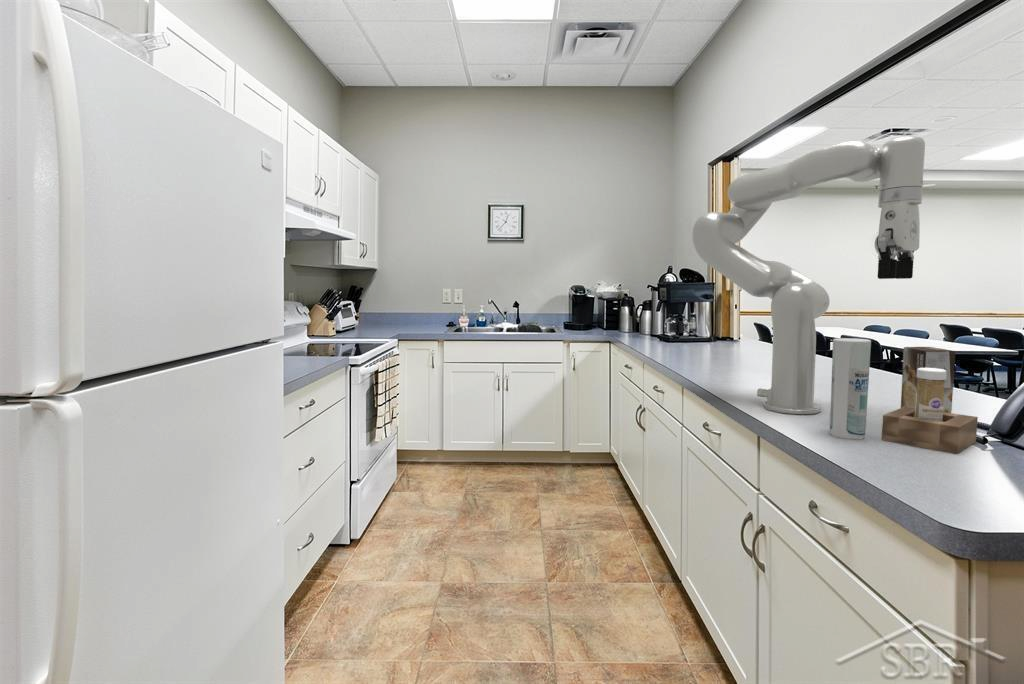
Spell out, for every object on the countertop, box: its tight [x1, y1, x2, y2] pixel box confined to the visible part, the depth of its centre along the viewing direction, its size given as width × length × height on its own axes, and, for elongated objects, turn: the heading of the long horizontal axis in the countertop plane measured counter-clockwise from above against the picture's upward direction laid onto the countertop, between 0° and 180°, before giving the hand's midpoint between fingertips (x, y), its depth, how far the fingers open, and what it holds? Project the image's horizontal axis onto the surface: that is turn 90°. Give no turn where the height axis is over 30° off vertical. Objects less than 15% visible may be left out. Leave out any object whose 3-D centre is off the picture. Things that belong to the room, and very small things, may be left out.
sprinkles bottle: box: [914, 368, 946, 421], centre depth 104 cm, size 5×5×14 cm
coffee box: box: [900, 346, 956, 413], centre depth 123 cm, size 9×6×16 cm
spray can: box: [829, 337, 872, 440], centre depth 108 cm, size 6×6×20 cm
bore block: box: [881, 407, 979, 455], centre depth 104 cm, size 12×12×5 cm
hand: (895, 278), depth 115 cm, fingers open, 9 cm apart
